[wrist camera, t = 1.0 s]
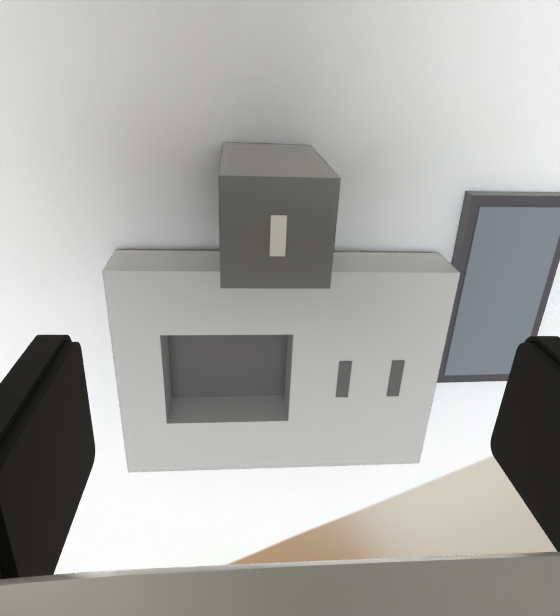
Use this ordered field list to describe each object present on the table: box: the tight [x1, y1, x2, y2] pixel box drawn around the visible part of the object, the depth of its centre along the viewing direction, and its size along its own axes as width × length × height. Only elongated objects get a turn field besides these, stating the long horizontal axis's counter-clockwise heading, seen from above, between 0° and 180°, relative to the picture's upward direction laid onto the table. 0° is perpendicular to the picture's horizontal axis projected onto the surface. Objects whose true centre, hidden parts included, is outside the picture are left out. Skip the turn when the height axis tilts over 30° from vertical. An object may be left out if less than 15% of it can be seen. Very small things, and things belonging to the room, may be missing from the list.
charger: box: [219, 142, 340, 289], centre depth 22 cm, size 4×4×8 cm
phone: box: [437, 191, 560, 383], centre depth 30 cm, size 12×6×1 cm, turn 178°
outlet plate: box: [103, 250, 460, 472], centre depth 29 cm, size 13×18×3 cm
